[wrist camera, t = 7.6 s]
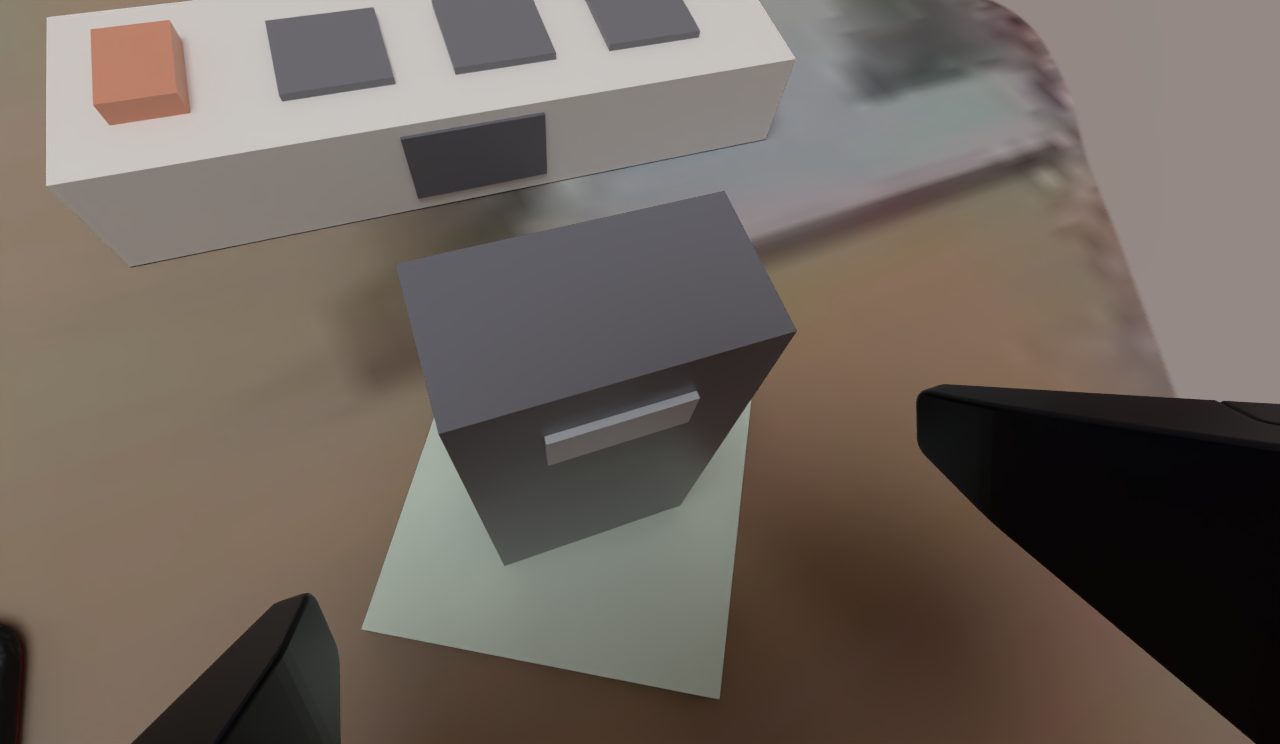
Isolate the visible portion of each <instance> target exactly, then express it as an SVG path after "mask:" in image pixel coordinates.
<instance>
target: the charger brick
mask: <svg viewBox="0 0 1280 744" xmlns="http://www.w3.org/2000/svg"><path fill="white" fill-rule="evenodd" d="M396 268H397V272H398V276H399V280H400V284H401V288H402V292H403V296H404V300H405V304H406V308H407V312H408V316H409V320H410V324H411V327H412V331H413V335H414V339H415V343H416V347H417V351H418V355H419V359H420V363H421V367H422V371H423V375H424V379H425V383H426V387H427V391H428V395H429V399H430V403H431V407H432V411H433V415H434V419H435V423H436V427H437V431H438V434H439V436H440V438H441V440H442V442H443V444H444V446H445V448H446V450H447V452H448V454H449V456H450V458H451V460H452V462H453V464H454V466H455V468H456V470H457V472H458V474H459V476H460V478H461V480H462V482H463V484H464V486H465V488H466V490H467V492H468V494H469V496H470V498H471V500H472V502H473V504H474V506H475V508H476V510H477V512H478V514H479V516H480V518H481V520H482V522H483V524H484V526H485V528H486V530H487V532H488V534H489V536H490V538H491V540H492V542H493V544H494V546H495V548H496V550H497V552H498V554H499V556H500V558H501V560H502V562H503V564H504V566H506V565H509V564H512V563H515V562H518V561H521V560H524V559H527V558H530V557H532V556H535V555H538V554H541V553H544V552H547V551H550V550H553V549H556V548H558V547H561V546H564V545H567V544H570V543H573V542H576V541H579V540H582V539H585V538H587V537H590V536H593V535H596V534H599V533H602V532H605V531H608V530H611V529H613V528H616V527H619V526H622V525H625V524H628V523H631V522H634V521H637V520H640V519H642V518H645V517H648V516H651V515H654V514H657V513H660V512H663V511H666V510H668V509H671V508H674V507H677V506H680V505H681V504H682V502H683V501H684V499H685V498H686V496H687V495H688V493H689V492H690V490H691V489H692V487H693V486H694V484H695V483H696V481H697V480H698V478H699V477H700V475H701V474H702V472H703V471H704V469H705V468H706V466H707V465H708V463H709V462H710V460H711V459H712V457H713V456H714V454H715V453H716V451H717V450H718V448H719V447H720V445H721V444H722V442H723V441H724V439H725V438H726V436H727V435H728V433H729V432H730V430H731V429H732V427H733V426H734V424H735V423H736V421H737V420H738V418H739V417H740V415H741V414H742V412H743V411H744V409H745V408H746V406H747V405H748V403H749V402H750V400H751V399H752V397H753V396H754V394H755V393H756V391H757V390H758V388H759V387H760V385H761V384H762V382H763V381H764V379H765V378H766V376H767V375H768V373H769V372H770V370H771V369H772V367H773V366H774V364H775V363H776V361H777V360H778V358H779V357H780V355H781V354H782V352H783V351H784V349H785V348H786V346H787V345H788V344H789V342H790V341H791V339H792V338H793V336H794V335H795V333H796V332H797V330H796V328H795V326H794V324H793V322H792V320H791V319H790V317H789V315H788V313H787V311H786V309H785V307H784V305H783V303H782V301H781V299H780V297H779V295H778V293H777V291H776V290H775V288H774V286H773V284H772V282H771V280H770V278H769V276H768V274H767V272H766V270H765V268H764V266H763V264H762V263H761V261H760V259H759V257H758V255H757V253H756V251H755V249H754V247H753V245H752V243H751V241H750V239H749V237H748V235H747V234H746V232H745V230H744V228H743V226H742V224H741V222H740V220H739V218H738V216H737V214H736V212H735V210H734V208H733V207H732V205H731V203H730V201H729V199H728V197H727V195H726V193H725V191H722V192H717V193H713V194H708V195H704V196H699V197H695V198H690V199H686V200H681V201H677V202H672V203H668V204H663V205H659V206H654V207H650V208H645V209H641V210H636V211H632V212H627V213H622V214H618V215H613V216H609V217H604V218H600V219H595V220H591V221H586V222H582V223H577V224H573V225H568V226H564V227H559V228H555V229H550V230H546V231H541V232H537V233H532V234H528V235H523V236H519V237H514V238H509V239H505V240H500V241H496V242H491V243H487V244H482V245H478V246H473V247H469V248H464V249H460V250H455V251H451V252H446V253H442V254H437V255H433V256H428V257H424V258H419V259H415V260H410V261H406V262H401V263H396Z"/></svg>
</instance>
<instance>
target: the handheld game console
mask: <svg viewBox="0 0 1280 744" xmlns="http://www.w3.org/2000/svg"><path fill="white" fill-rule="evenodd" d="M22 664H23V657H22V648H21V644H20V641H19V639H18V637H17V636H16V634H15V632H14V631H13V630H12V629H11V628H10V627H8V626H6V625H3V624H0V744H17V734H18V722H19V708H20V688H21V678H22Z"/></svg>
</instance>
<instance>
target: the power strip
mask: <svg viewBox="0 0 1280 744" xmlns="http://www.w3.org/2000/svg"><path fill="white" fill-rule="evenodd" d="M794 62H795V57H794V56H793V54H792V52H791V51H790V49H789V48H788V46H787V45H786V43H785V41H784V40H783V38H782V37H781V35H780V33H779V32H778V30H777V29H776V27H775V26H774V24H773V22H772V21H771V19H770V18H769V16H768V14H767V13H766V11H765V10H764V8H763V7H762V5H761V3H760V2H759V0H193V1H185V2H176V3H167V4H159V5H150V6H141V7H133V8H124V9H115V10H107V11H98V12H89V13H80V14H72V15H63V16H54V17H47V77H46V187H47V188H49V189H50V190H51V191H52V192H53V193H54V194H55V195H56V196H57V197H58V198H59V199H60V200H61V201H62V202H63V203H64V204H65V205H66V206H67V207H68V208H69V209H70V210H71V211H72V212H74V213H75V214H76V215H77V216H78V217H79V218H80V219H81V220H82V221H83V222H84V223H85V224H86V225H87V226H88V227H89V228H90V229H91V230H92V231H93V232H94V233H95V234H96V235H97V236H98V237H100V238H101V239H102V240H103V241H104V242H105V243H106V244H107V245H108V246H109V247H110V248H111V249H112V250H113V251H114V252H115V253H116V254H117V255H118V256H119V257H120V258H121V259H122V260H123V261H125V262H126V263H127V264H128V265H129V266H130V267H132V266H137V265H142V264H147V263H152V262H157V261H162V260H167V259H172V258H177V257H182V256H187V255H192V254H197V253H202V252H207V251H212V250H217V249H222V248H227V247H232V246H237V245H242V244H247V243H251V242H256V241H261V240H266V239H271V238H276V237H281V236H286V235H291V234H296V233H301V232H306V231H311V230H316V229H321V228H326V227H331V226H336V225H341V224H346V223H351V222H356V221H361V220H366V219H371V218H376V217H381V216H386V215H391V214H396V213H401V212H406V211H411V210H416V209H421V208H426V207H431V206H436V205H441V204H445V203H450V202H455V201H460V200H465V199H470V198H475V197H480V196H485V195H490V194H495V193H500V192H505V191H510V190H515V189H520V188H525V187H530V186H535V185H540V184H545V183H550V182H555V181H560V180H565V179H570V178H575V177H580V176H585V175H590V174H595V173H600V172H605V171H610V170H615V169H620V168H625V167H630V166H635V165H639V164H644V163H649V162H654V161H659V160H664V159H669V158H674V157H679V156H684V155H689V154H694V153H699V152H704V151H709V150H714V149H719V148H724V147H729V146H734V145H739V144H744V143H749V142H754V141H759V140H764V139H766V137H767V134H768V132H769V129H770V126H771V124H772V121H773V118H774V116H775V113H776V110H777V108H778V105H779V102H780V100H781V97H782V94H783V92H784V89H785V86H786V84H787V81H788V78H789V76H790V73H791V70H792V67H793V65H794Z"/></svg>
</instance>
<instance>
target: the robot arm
mask: <svg viewBox="0 0 1280 744" xmlns="http://www.w3.org/2000/svg"><path fill="white" fill-rule="evenodd" d="M916 413H917V441H918V445H919V447H920V449H921V451H922V452H923V454H924V455H925V456H926V457H927V458H928V459H929V460H930V461H931V462H932V463H933V464H934V465H935V466H936V467H937V468H938V469H939V470H940V471H941V472H942V473H943V474H944V475H945V476H946V477H947V478H948V479H949V480H950V481H951V482H952V483H953V484H954V485H955V486H956V487H957V488H958V489H959V490H960V491H961V492H962V493H963V494H964V495H965V496H966V497H967V498H968V499H969V501H970V502H971V503H972V504H973V505H974V506H975V507H976V508H977V509H978V510H979V511H980V512H982V513H983V514H984V515H985V516H986V517H987V518H988V519H989V520H990V521H991V522H992V523H993V524H994V525H996V526H997V527H998V528H999V529H1000V530H1001V531H1002V532H1004V533H1005V534H1006V535H1007V536H1008V537H1010V538H1011V539H1012V540H1013V541H1014V542H1015V543H1017V544H1018V545H1019V546H1020V547H1021V548H1023V549H1024V550H1025V551H1026V552H1027V553H1029V554H1030V555H1031V556H1032V557H1033V558H1035V559H1036V560H1037V561H1038V562H1039V563H1041V564H1042V565H1043V566H1044V567H1045V568H1047V569H1048V570H1049V571H1050V572H1051V573H1052V574H1054V575H1055V576H1056V577H1057V578H1058V579H1060V580H1061V581H1062V582H1063V583H1064V584H1066V585H1067V586H1068V587H1069V588H1070V589H1072V590H1073V591H1074V592H1075V593H1076V594H1078V595H1079V596H1080V597H1081V598H1082V599H1083V600H1085V601H1086V602H1087V603H1088V604H1089V605H1091V606H1092V607H1093V608H1094V609H1095V610H1097V611H1098V612H1099V613H1100V614H1101V615H1103V616H1104V617H1105V618H1106V619H1107V620H1109V621H1110V622H1111V623H1112V624H1113V625H1115V626H1116V627H1117V628H1118V629H1119V630H1120V631H1122V632H1123V633H1124V634H1125V635H1126V636H1128V637H1129V638H1130V639H1131V640H1132V641H1134V642H1135V643H1136V644H1137V645H1138V646H1140V647H1141V648H1142V649H1143V650H1144V651H1146V652H1147V653H1148V654H1149V655H1150V656H1152V657H1153V658H1154V659H1155V660H1156V661H1157V662H1159V663H1160V664H1161V665H1162V666H1163V667H1165V668H1166V669H1167V670H1168V671H1169V672H1171V673H1172V674H1173V675H1174V676H1175V677H1177V678H1178V679H1179V680H1180V681H1181V682H1183V683H1184V684H1185V685H1186V686H1187V687H1189V688H1190V689H1191V690H1192V691H1193V692H1194V693H1196V694H1197V695H1198V696H1199V697H1200V698H1202V699H1203V700H1204V701H1205V702H1206V703H1208V704H1209V705H1210V706H1211V707H1212V708H1214V709H1215V710H1216V711H1217V712H1218V713H1220V714H1221V715H1222V716H1223V717H1224V718H1226V719H1227V720H1228V721H1229V722H1230V723H1231V724H1233V725H1234V726H1235V727H1236V728H1237V729H1239V730H1240V731H1241V732H1242V733H1243V734H1245V735H1246V736H1247V737H1248V738H1249V739H1251V740H1252V741H1253V742H1254V743H1255V744H1280V404H1270V403H1269V404H1268V403H1250V402H1234V401H1222V402H1217V401H1215V400H1200V399H1183V398H1167V397H1150V396H1133V395H1117V394H1100V393H1083V392H1067V391H1050V390H1033V389H1017V388H1000V387H984V386H967V385H950V384H942V385H938V386H935V387H932V388H929V389H926V390H924V391H922V392H921V393H920V394H919V395H918V397H917V401H916ZM131 744H341V738H340V664H339V654H338V649H337V646H336V643H335V640H334V638H333V636H332V633H331V631H330V629H329V627H328V624H327V622H326V620H325V617H324V615H323V613H322V611H321V608H320V606H319V604H318V602H317V600H316V598H315V597H314V596H313V595H311V594H309V593H304V594H300V595H297V596H294V597H291V598H288V599H285V600H282V601H279V602H277V603H275V604H273V605H272V606H271V607H270V608H269V609H268V610H267V611H266V612H265V613H264V614H263V615H262V616H261V617H260V618H259V619H258V620H257V621H256V622H255V623H254V624H253V625H252V626H251V627H250V628H249V629H248V630H247V631H246V632H245V633H244V634H243V635H242V636H241V637H240V638H239V639H238V640H237V641H235V642H234V643H233V644H232V645H231V646H230V647H229V648H228V649H227V650H226V651H225V652H224V653H223V654H222V655H221V656H220V657H219V658H218V659H217V660H216V661H215V662H214V663H213V664H212V665H211V666H210V667H209V668H208V669H207V670H206V671H205V672H204V673H203V674H202V675H201V676H200V677H199V678H198V679H197V680H196V681H195V682H194V683H193V684H192V685H191V686H190V687H189V688H187V689H186V690H185V691H184V692H183V693H182V694H181V695H180V696H179V697H178V698H177V699H176V700H175V701H174V702H173V703H172V704H171V705H170V706H169V707H168V708H167V709H166V710H165V711H164V712H163V713H162V714H161V715H160V716H159V717H158V718H157V719H156V720H155V721H154V722H153V723H152V724H151V725H150V726H149V727H148V728H147V729H146V730H145V731H144V732H143V733H142V734H141V735H140V736H138V737H137V738H136V739H135V740H134V741H133V742H132V743H131Z"/></svg>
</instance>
